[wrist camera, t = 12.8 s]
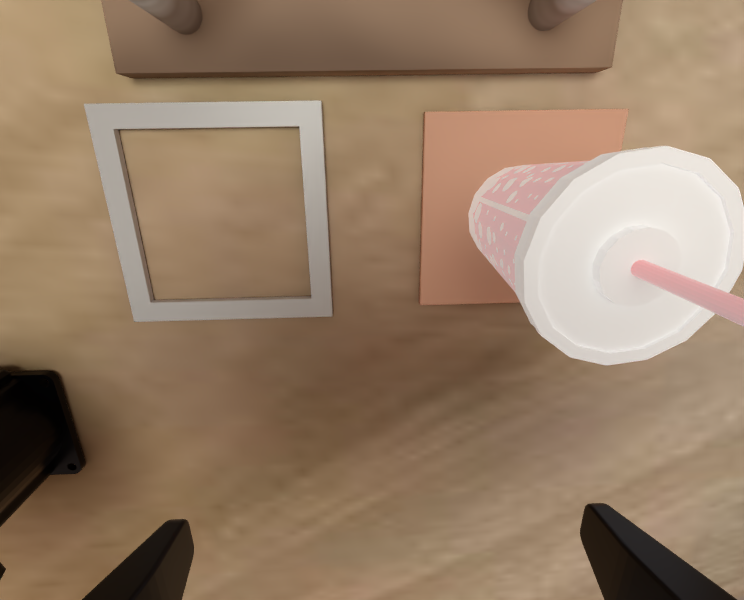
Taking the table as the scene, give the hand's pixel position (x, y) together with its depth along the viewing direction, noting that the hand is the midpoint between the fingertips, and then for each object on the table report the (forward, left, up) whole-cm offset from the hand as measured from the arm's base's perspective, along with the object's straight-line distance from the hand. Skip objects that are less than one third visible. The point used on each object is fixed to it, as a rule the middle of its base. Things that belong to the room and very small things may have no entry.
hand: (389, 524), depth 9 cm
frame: (+5, +7, -13) cm, 16 cm away
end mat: (+5, -7, -13) cm, 16 cm away
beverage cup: (+5, -7, -13) cm, 15 cm away
